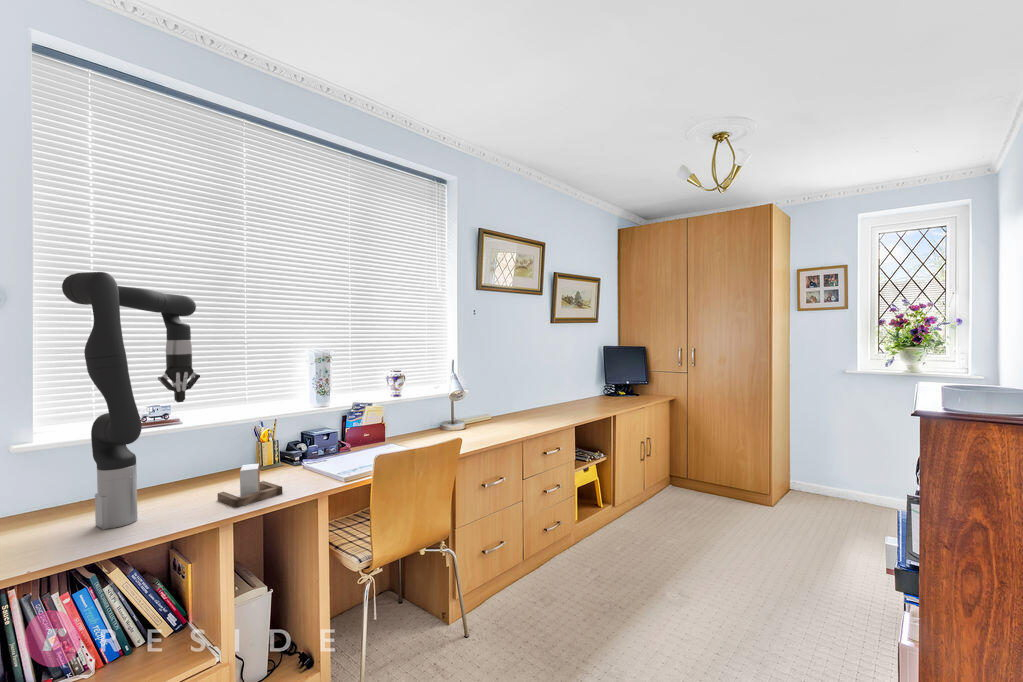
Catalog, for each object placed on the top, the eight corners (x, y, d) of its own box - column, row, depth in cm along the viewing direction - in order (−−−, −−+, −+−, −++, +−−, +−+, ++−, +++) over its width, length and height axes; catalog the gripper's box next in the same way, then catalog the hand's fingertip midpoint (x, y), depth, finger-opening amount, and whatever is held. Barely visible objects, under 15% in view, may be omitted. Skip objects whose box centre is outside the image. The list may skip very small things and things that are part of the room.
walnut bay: (236, 507, 158) (235, 500, 158) (217, 500, 164) (217, 493, 164) (282, 493, 171) (282, 486, 171) (263, 487, 178) (263, 480, 178)
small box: (258, 499, 166) (258, 468, 166) (240, 501, 164) (239, 470, 163) (260, 492, 173) (259, 462, 173) (242, 494, 171) (242, 464, 171)
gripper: (161, 354, 162) (162, 405, 162) (204, 352, 173) (205, 400, 173) (152, 353, 166) (153, 403, 166) (194, 352, 177) (195, 399, 177)
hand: (180, 401), depth 170 cm, fingers closed
